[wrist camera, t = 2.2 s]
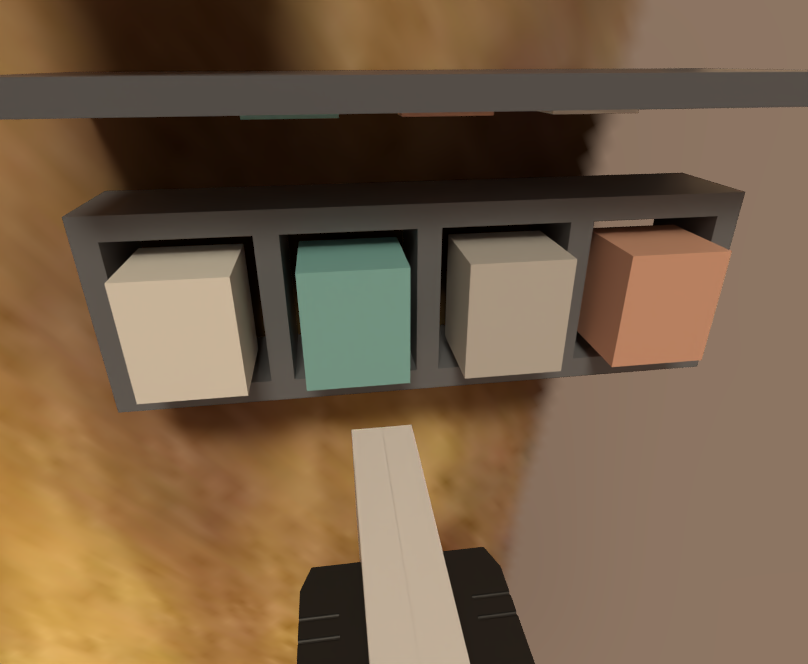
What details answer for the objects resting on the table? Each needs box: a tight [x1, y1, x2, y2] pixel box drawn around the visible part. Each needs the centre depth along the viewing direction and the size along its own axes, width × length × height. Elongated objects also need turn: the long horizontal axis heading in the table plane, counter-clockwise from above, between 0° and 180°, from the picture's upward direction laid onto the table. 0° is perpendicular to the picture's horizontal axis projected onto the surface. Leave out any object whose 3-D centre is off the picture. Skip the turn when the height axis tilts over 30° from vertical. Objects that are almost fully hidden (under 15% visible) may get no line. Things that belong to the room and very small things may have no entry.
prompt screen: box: [0, 68, 808, 120], centre depth 20 cm, size 27×1×9 cm, turn 90°
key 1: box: [104, 244, 258, 404], centre depth 22 cm, size 4×5×4 cm
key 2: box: [295, 237, 410, 391], centre depth 23 cm, size 4×5×4 cm
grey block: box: [445, 230, 577, 379], centre depth 23 cm, size 4×5×4 cm
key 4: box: [577, 225, 732, 367], centre depth 24 cm, size 4×5×4 cm
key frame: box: [62, 173, 745, 412], centre depth 25 cm, size 27×9×4 cm, turn 90°
